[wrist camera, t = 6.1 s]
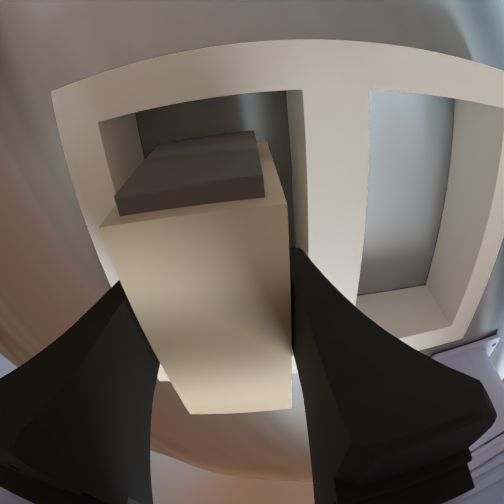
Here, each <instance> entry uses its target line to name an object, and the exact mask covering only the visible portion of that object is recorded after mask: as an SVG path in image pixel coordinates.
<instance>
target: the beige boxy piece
mask: <svg viewBox="0 0 504 504" xmlns="http://www.w3.org/2000/svg"><path fill="white" fill-rule="evenodd" d="M114 199H115V202H116V204H115V206H114V207H113V209H112V210H111V211H110V213H109V214H108V215H107V217H106V218H105V220H104V221H103V222H102V224H101V225H100V227H99V230H100V233H101V236H102V238H103V241H104V243H105V246H106V249H107V251H108V254H109V256H110V259H111V261H112V263H113V266H114V268H115V271H116V273H117V275H118V278H119V280H120V282H121V285H122V287H123V289H124V291H125V293H126V296H127V298H128V300H129V302H130V304H131V307H132V309H133V311H134V313H135V315H136V317H137V319H138V321H139V323H140V325H141V327H142V329H143V331H144V333H145V335H146V337H147V339H148V341H149V343H150V345H151V347H152V349H153V351H154V352H155V354H156V356H157V358H158V360H159V362H160V364H161V365H162V367H163V369H164V371H165V373H166V374H167V376H168V378H169V380H170V381H171V383H172V385H173V387H174V388H175V390H176V392H177V393H178V395H179V397H180V398H181V400H182V402H183V403H184V405H185V407H186V408H187V410H188V411H189V413H190V414H224V413H244V412H258V411H270V410H280V409H289V408H292V334H291V287H290V256H289V232H288V210H287V202H286V199H285V196H284V192H283V189H282V186H281V183H280V180H279V177H278V174H277V170H276V167H275V164H274V161H273V158H272V155H271V152H270V149H269V146H268V143H267V141H261V142H256V137H255V133H254V131H246V132H237V133H229V134H221V135H213V136H206V137H199V138H193V139H187V140H181V141H175V142H169V143H164V144H158V145H157V146H156V148H155V149H154V150H153V151H152V152H151V153H150V154H149V155H148V156H147V158H146V159H145V160H144V161H143V162H142V163H141V164H140V165H139V167H138V168H137V169H136V170H135V171H134V172H133V174H132V175H131V176H130V177H129V178H128V180H127V181H126V182H125V183H124V184H123V186H122V187H121V188H120V189H119V190H118V192H117V193H116V194H115V195H114Z"/></svg>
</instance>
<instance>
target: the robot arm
mask: <svg viewBox="0 0 504 504" xmlns="http://www.w3.org/2000/svg"><path fill="white" fill-rule="evenodd" d="M289 256H290V287H291V334H292V350H293V354H294V358H295V362H296V366H297V370H298V374H299V378H300V382H301V387H302V392H303V397H304V405H305V412H306V420H307V428H308V437H309V445H310V455H311V464H312V475H313V486H314V499H315V504H504V384H503V382H502V380H501V378H500V376H499V374H498V372H497V371H496V369H495V367H494V365H493V363H492V362H491V360H490V358H489V356H490V355H491V353H492V351H493V350H494V348H495V346H496V345H497V343H498V341H499V340H500V336H499V335H498V334H497V335H494V336H491V337H488V338H485V339H483V340H480V341H477V342H474V343H471V344H468V345H465V346H461V347H458V348H455V349H452V350H448V351H445V352H442V353H438V354H435V355H434V356H433V357H432V358H430V357H428V356H426V355H424V354H423V353H421V352H419V351H417V350H416V349H414V348H412V347H410V346H409V345H407V344H406V343H404V342H403V341H401V340H400V339H398V338H396V337H395V336H393V335H392V334H390V333H389V332H387V331H386V330H384V329H383V328H382V327H380V326H379V325H378V324H376V323H375V322H374V321H372V320H371V319H370V318H369V317H367V316H366V315H365V314H364V313H363V312H361V311H360V310H359V309H358V308H357V307H356V306H354V305H353V304H352V303H351V302H350V301H349V300H348V299H347V298H346V297H345V296H344V295H343V294H342V293H341V292H340V291H339V290H338V289H337V288H336V287H335V286H334V285H333V284H332V283H331V282H330V281H329V280H328V279H327V278H326V277H325V276H324V275H323V274H322V272H321V271H320V270H319V269H318V268H317V267H316V266H315V264H314V263H313V262H312V261H311V260H310V258H309V257H308V256H307V255H306V253H305V252H304V251H303V250H302V249H301V248H292V249H289ZM159 366H160V362H159V360H158V358H157V356H156V354H155V352H154V351H153V349H152V347H151V345H150V343H149V341H148V339H147V337H146V335H145V333H144V331H143V329H142V327H141V325H140V323H139V321H138V319H137V317H136V315H135V313H134V311H133V309H132V307H131V304H130V302H129V300H128V298H127V296H126V293H125V291H124V289H123V287H122V285H121V282H120V280H118V281H117V282H116V283H115V284H114V285H113V286H112V287H111V288H110V289H109V291H108V292H107V293H106V294H105V295H104V296H103V297H102V298H101V299H100V300H99V301H98V302H97V303H96V304H95V305H94V306H93V307H92V308H90V309H89V310H88V311H87V312H86V313H85V314H84V315H83V316H82V317H81V318H80V319H79V320H78V321H77V322H76V323H75V324H74V325H73V326H72V327H71V328H69V329H68V330H67V331H66V332H65V333H64V334H63V335H61V336H60V337H59V338H58V339H56V340H55V341H54V342H53V343H52V344H50V345H49V346H48V347H47V348H45V349H44V350H42V351H41V352H40V353H38V354H37V355H35V356H34V357H33V358H31V359H30V360H29V361H27V362H26V363H24V364H23V365H21V366H20V367H18V368H17V369H15V370H14V371H12V372H10V373H9V374H7V375H5V376H4V377H2V378H0V504H153V498H152V488H151V475H150V474H151V473H150V428H151V413H152V402H153V395H154V390H155V385H156V380H157V375H158V371H159Z"/></svg>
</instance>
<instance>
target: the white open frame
mask: <svg viewBox="0 0 504 504" xmlns="http://www.w3.org/2000/svg"><path fill="white" fill-rule="evenodd" d="M283 90H286V98H287V111H288V124H289V138H290V153H291V170H292V188H293V209H294V234H295V248H301V249H302V250H303V251H304V252H305V253H306V255H307V256H308V257H309V258H310V260H311V261H312V262H313V263H314V264H315V266H316V267H317V268H318V269H319V270H320V271H321V272H322V274H323V275H324V276H325V277H326V278H327V279H328V280H329V281H330V282H331V283H332V284H333V285H334V286H335V287H336V288H337V289H338V290H339V291H340V292H341V293H342V294H343V295H344V296H345V297H346V298H347V299H348V300H349V301H350V302H351V303H352V304H353V305H354V306H356V307H357V308H358V309H359V310H360V311H361V312H363V313H364V314H365V315H366V316H367V317H369V318H370V319H371V320H372V321H374V322H375V323H376V324H378V325H379V326H380V327H382V328H383V329H384V330H386V331H387V332H389V333H390V334H392V335H393V336H395V337H396V338H398V339H400V340H401V341H403V342H404V343H406V344H407V345H409V346H410V347H412V348H414V349H416V350H417V351H420V350H423V349H427V348H431V347H435V346H439V345H442V344H446V343H449V342H453V341H456V340H459V339H463V337H464V335H465V333H466V331H467V329H468V327H469V325H470V322H471V320H472V318H473V316H474V314H475V312H476V309H477V307H478V305H479V303H480V300H481V298H482V296H483V293H484V291H485V288H486V286H487V283H488V281H489V278H490V275H491V273H492V270H493V267H494V264H495V262H496V259H497V256H498V253H499V250H500V247H501V243H502V240H503V237H504V71H503V70H500V69H497V68H494V67H491V66H488V65H484V64H481V63H478V62H474V61H471V60H467V59H463V58H459V57H455V56H451V55H447V54H442V53H438V52H433V51H428V50H423V49H417V48H411V47H405V46H398V45H391V44H383V43H374V42H363V41H349V40H326V39H292V40H269V41H255V42H244V43H234V44H226V45H218V46H211V47H205V48H199V49H193V50H187V51H182V52H177V53H172V54H167V55H163V56H158V57H154V58H150V59H146V60H142V61H138V62H135V63H131V64H127V65H124V66H120V67H117V68H114V69H111V70H107V71H104V72H101V73H98V74H95V75H92V76H90V77H87V78H84V79H81V80H79V81H76V82H73V83H71V84H68V85H66V86H63V87H61V88H58V89H56V90H53V91H51V97H52V103H53V108H54V113H55V117H56V122H57V126H58V131H59V135H60V139H61V143H62V147H63V151H64V155H65V159H66V162H67V166H68V169H69V173H70V176H71V180H72V183H73V186H74V189H75V193H76V196H77V199H78V202H79V205H80V208H81V211H82V214H83V217H84V220H85V222H86V225H87V228H88V231H89V233H90V236H91V239H92V241H93V244H94V247H95V249H96V252H97V254H98V257H99V259H100V262H101V264H102V267H103V269H104V271H105V274H106V276H107V278H108V281H109V283H110V285H111V287H112V286H113V285H114V284H115V283H116V282H117V281H118V280H119V278H118V275H117V273H116V271H115V268H114V266H113V263H112V261H111V259H110V256H109V254H108V251H107V249H106V246H105V243H104V241H103V238H102V236H101V233H100V230H99V227H100V225H101V224H102V222H103V221H104V220H105V218H106V217H107V215H108V214H109V213H110V211H111V210H112V209H113V207H114V206H115V204H116V202H115V199H114V195H115V194H116V193H117V192H118V190H119V189H120V188H121V187H122V186H123V184H124V183H125V182H126V181H127V180H128V178H129V177H130V176H131V175H132V174H133V172H134V171H135V170H136V169H137V168H138V167H139V165H140V164H141V163H142V162H143V161H144V160H145V159H144V155H143V150H142V145H141V141H140V136H139V131H138V126H137V121H136V115H135V112H139V111H143V110H148V109H152V108H157V107H162V106H167V105H172V104H177V103H182V102H188V101H194V100H200V99H207V98H213V97H221V96H228V95H237V94H246V93H256V92H268V91H283ZM369 90H383V91H397V92H408V93H418V94H426V95H434V96H441V97H448V98H455V106H454V127H453V140H452V151H451V161H450V169H449V177H448V184H447V190H446V197H445V202H444V208H443V214H442V219H441V224H440V229H439V233H438V238H437V242H436V247H435V251H434V255H433V259H432V263H431V267H430V271H429V274H428V278H427V281H426V285H423V286H417V287H411V288H405V289H399V290H393V291H387V292H380V293H374V294H367V295H360V296H357V292H358V284H359V277H360V269H361V261H362V252H363V243H364V233H365V222H366V209H367V195H368V177H369V147H370V102H369ZM294 373H298V370H297V366H296V362H295V358H294V354H293V350H292V374H294ZM157 378H158V380H159V381H170V380H169V378H168V376H167V374H166V373H165V371H164V369H163V367H162V365H161V364H160V366H159V371H158V375H157Z"/></svg>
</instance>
